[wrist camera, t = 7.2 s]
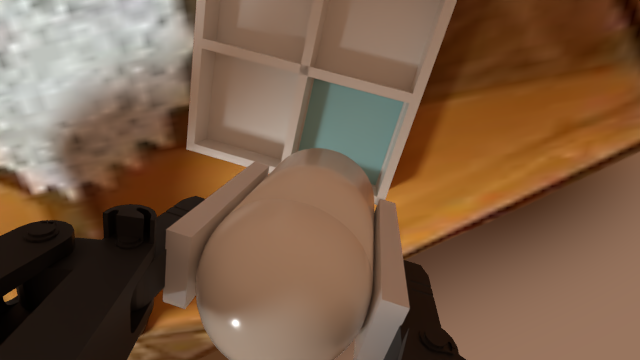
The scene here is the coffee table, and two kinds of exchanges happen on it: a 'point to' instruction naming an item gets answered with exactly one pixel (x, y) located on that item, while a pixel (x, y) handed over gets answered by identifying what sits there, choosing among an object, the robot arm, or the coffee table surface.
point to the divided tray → (312, 79)
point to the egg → (292, 263)
